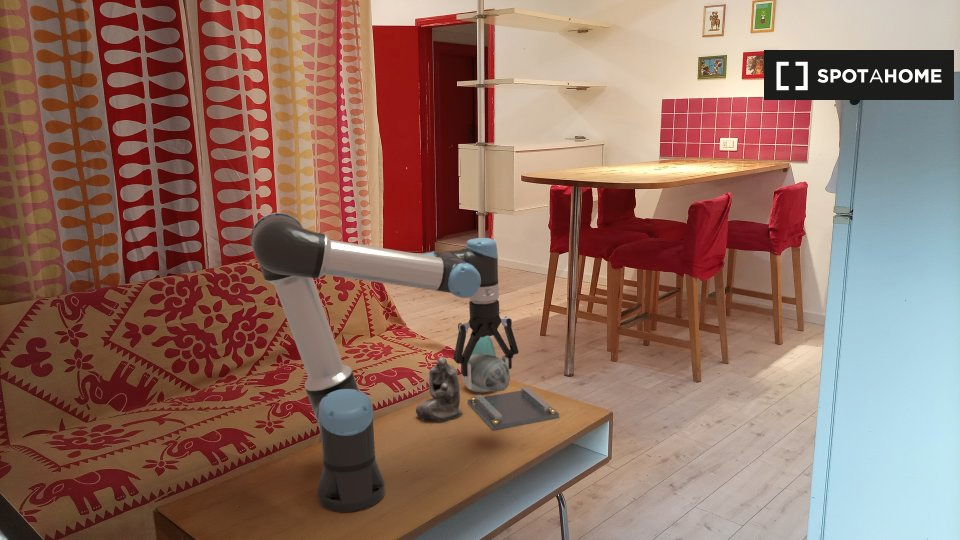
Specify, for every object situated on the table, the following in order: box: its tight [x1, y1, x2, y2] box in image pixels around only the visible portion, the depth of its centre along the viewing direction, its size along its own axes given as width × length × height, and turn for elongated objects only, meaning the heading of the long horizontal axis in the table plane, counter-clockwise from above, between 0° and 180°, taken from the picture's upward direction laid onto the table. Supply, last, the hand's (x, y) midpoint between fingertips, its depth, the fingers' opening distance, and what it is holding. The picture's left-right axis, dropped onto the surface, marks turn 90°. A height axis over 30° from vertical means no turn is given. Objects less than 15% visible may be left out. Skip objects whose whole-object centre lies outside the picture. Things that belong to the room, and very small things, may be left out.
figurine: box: [415, 356, 463, 423], centre depth 205 cm, size 13×12×18 cm
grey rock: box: [468, 353, 511, 392], centre depth 185 cm, size 14×10×10 cm
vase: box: [462, 336, 497, 394], centre depth 223 cm, size 12×12×18 cm
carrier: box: [467, 386, 560, 431], centre depth 208 cm, size 20×20×3 cm
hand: (487, 384), depth 186 cm, fingers closed on grey rock, 9 cm apart
